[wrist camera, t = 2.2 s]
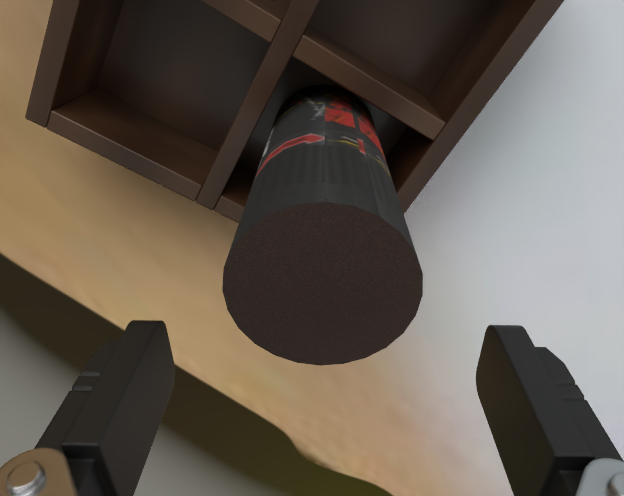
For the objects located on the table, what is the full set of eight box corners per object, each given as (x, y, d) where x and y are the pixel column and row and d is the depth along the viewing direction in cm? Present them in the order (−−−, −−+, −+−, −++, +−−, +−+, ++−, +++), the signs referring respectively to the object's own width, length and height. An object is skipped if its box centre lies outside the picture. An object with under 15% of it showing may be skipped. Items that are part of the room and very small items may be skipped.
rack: (77, 92, 26) (23, 118, 21) (199, -325, 18) (155, -429, 13) (349, 233, 30) (354, 280, 26) (549, -53, 22) (609, -59, 17)
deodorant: (371, 186, 28) (410, 367, 15) (273, 184, 28) (230, 362, 15) (379, 85, 25) (437, 204, 12) (270, 83, 25) (213, 199, 12)
